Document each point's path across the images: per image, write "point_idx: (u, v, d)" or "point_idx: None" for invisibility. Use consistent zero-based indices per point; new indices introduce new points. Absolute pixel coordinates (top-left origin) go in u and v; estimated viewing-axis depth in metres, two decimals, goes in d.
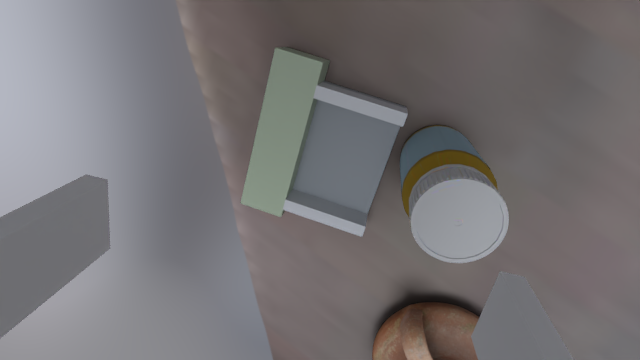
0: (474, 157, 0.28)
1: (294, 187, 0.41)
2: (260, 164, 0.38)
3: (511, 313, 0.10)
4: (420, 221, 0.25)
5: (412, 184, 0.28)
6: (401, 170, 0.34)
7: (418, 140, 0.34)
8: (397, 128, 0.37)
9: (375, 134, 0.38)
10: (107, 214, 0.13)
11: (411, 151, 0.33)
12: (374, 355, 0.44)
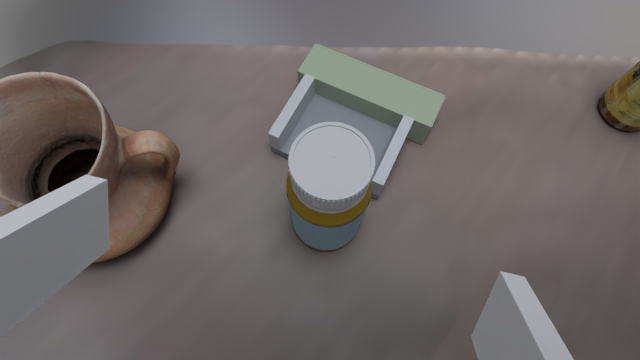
0: (364, 207, 0.30)
1: (316, 95, 0.45)
2: (349, 65, 0.43)
3: (511, 313, 0.10)
4: (335, 130, 0.28)
5: None
6: None
7: None
8: None
9: None
10: (107, 214, 0.13)
11: None
12: None
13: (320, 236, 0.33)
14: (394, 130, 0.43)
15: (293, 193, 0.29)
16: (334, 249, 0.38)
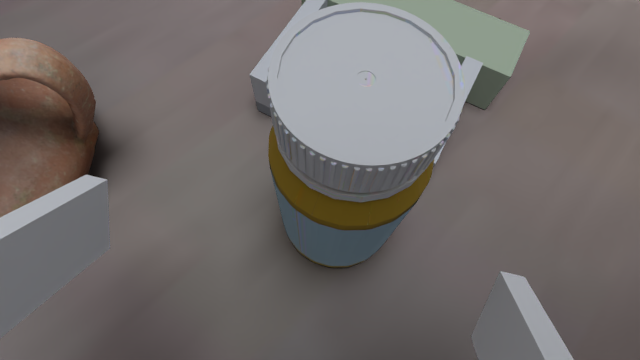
0: (420, 193, 0.15)
1: None
2: None
3: (511, 313, 0.10)
4: (373, 19, 0.13)
5: None
6: None
7: None
8: None
9: None
10: (107, 214, 0.13)
11: None
12: None
13: (329, 245, 0.18)
14: None
15: (279, 158, 0.14)
16: (349, 265, 0.23)
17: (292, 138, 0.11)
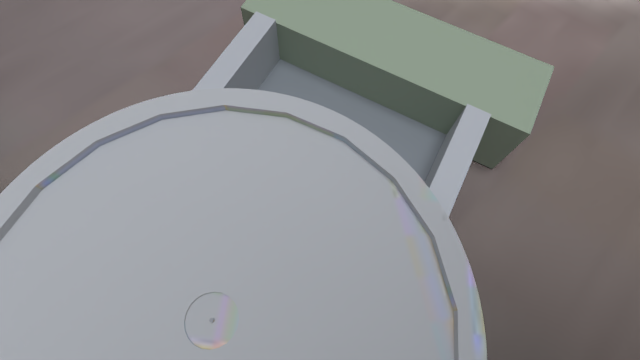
0: None
1: (282, 62, 0.23)
2: (350, 0, 0.21)
3: None
4: (254, 133, 0.05)
5: None
6: None
7: None
8: None
9: None
10: None
11: None
12: None
13: None
14: (438, 137, 0.21)
15: None
16: None
17: None
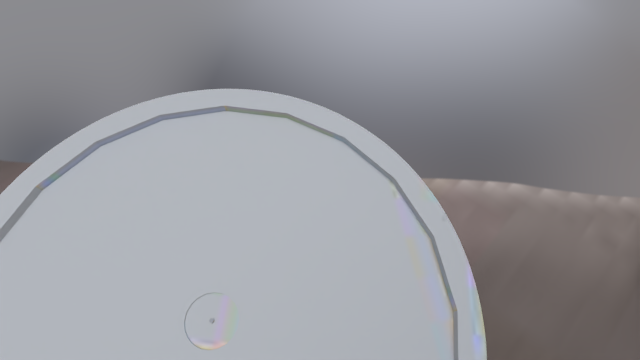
0: None
1: None
2: None
3: None
4: (254, 133, 0.05)
5: None
6: None
7: None
8: None
9: None
10: None
11: None
12: None
13: None
14: None
15: None
16: None
17: None
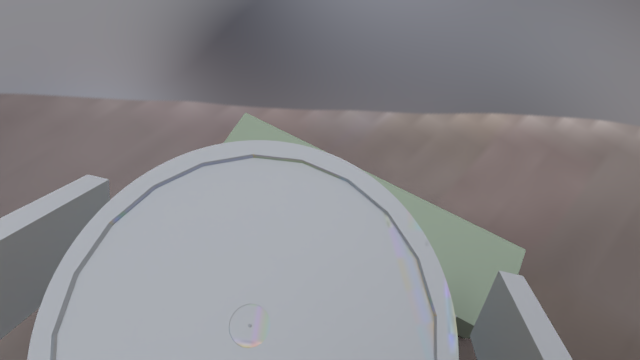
0: None
1: None
2: None
3: (509, 312, 0.11)
4: (277, 176, 0.07)
5: None
6: None
7: None
8: None
9: None
10: None
11: None
12: None
13: None
14: None
15: None
16: None
17: None
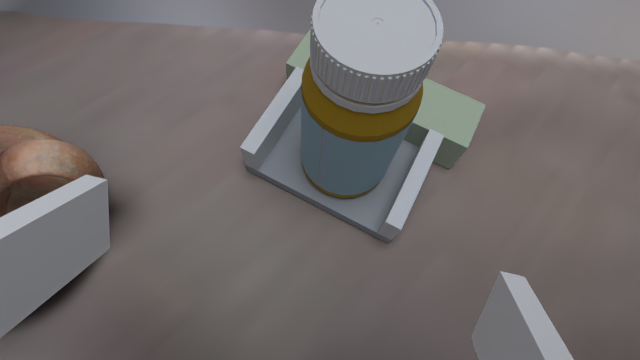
0: (413, 115, 0.21)
1: None
2: None
3: (511, 313, 0.11)
4: None
5: None
6: None
7: None
8: (367, 225, 0.29)
9: (363, 199, 0.30)
10: (107, 214, 0.13)
11: None
12: (31, 129, 0.28)
13: (344, 165, 0.24)
14: (413, 148, 0.32)
15: (313, 87, 0.20)
16: (356, 195, 0.29)
17: (330, 60, 0.17)
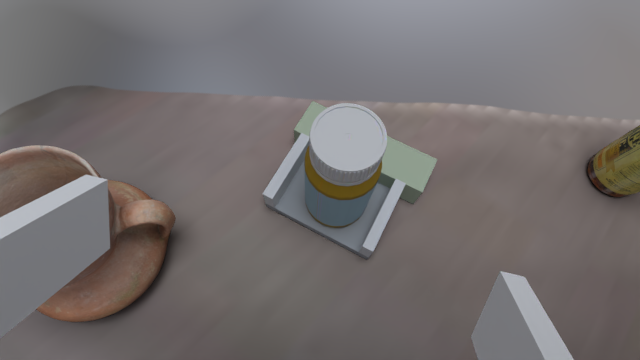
0: (375, 182, 0.34)
1: None
2: None
3: (511, 313, 0.10)
4: (351, 110, 0.31)
5: None
6: None
7: None
8: (352, 247, 0.42)
9: (349, 228, 0.43)
10: (107, 214, 0.13)
11: None
12: (120, 182, 0.41)
13: (333, 210, 0.36)
14: (386, 190, 0.44)
15: (311, 168, 0.33)
16: (343, 226, 0.42)
17: (320, 161, 0.29)
